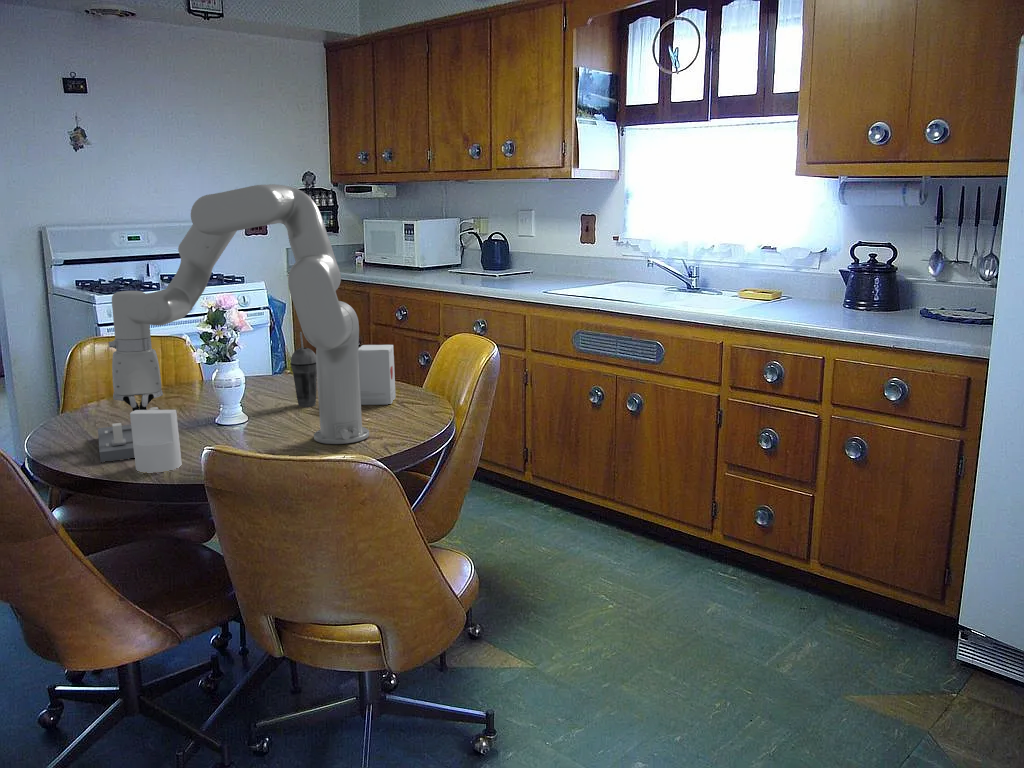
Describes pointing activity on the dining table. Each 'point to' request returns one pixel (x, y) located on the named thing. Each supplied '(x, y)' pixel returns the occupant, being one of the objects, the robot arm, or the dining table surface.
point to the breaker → (118, 435)
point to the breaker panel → (116, 451)
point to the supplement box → (376, 374)
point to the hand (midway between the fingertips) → (140, 422)
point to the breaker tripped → (154, 408)
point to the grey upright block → (155, 440)
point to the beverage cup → (304, 375)
